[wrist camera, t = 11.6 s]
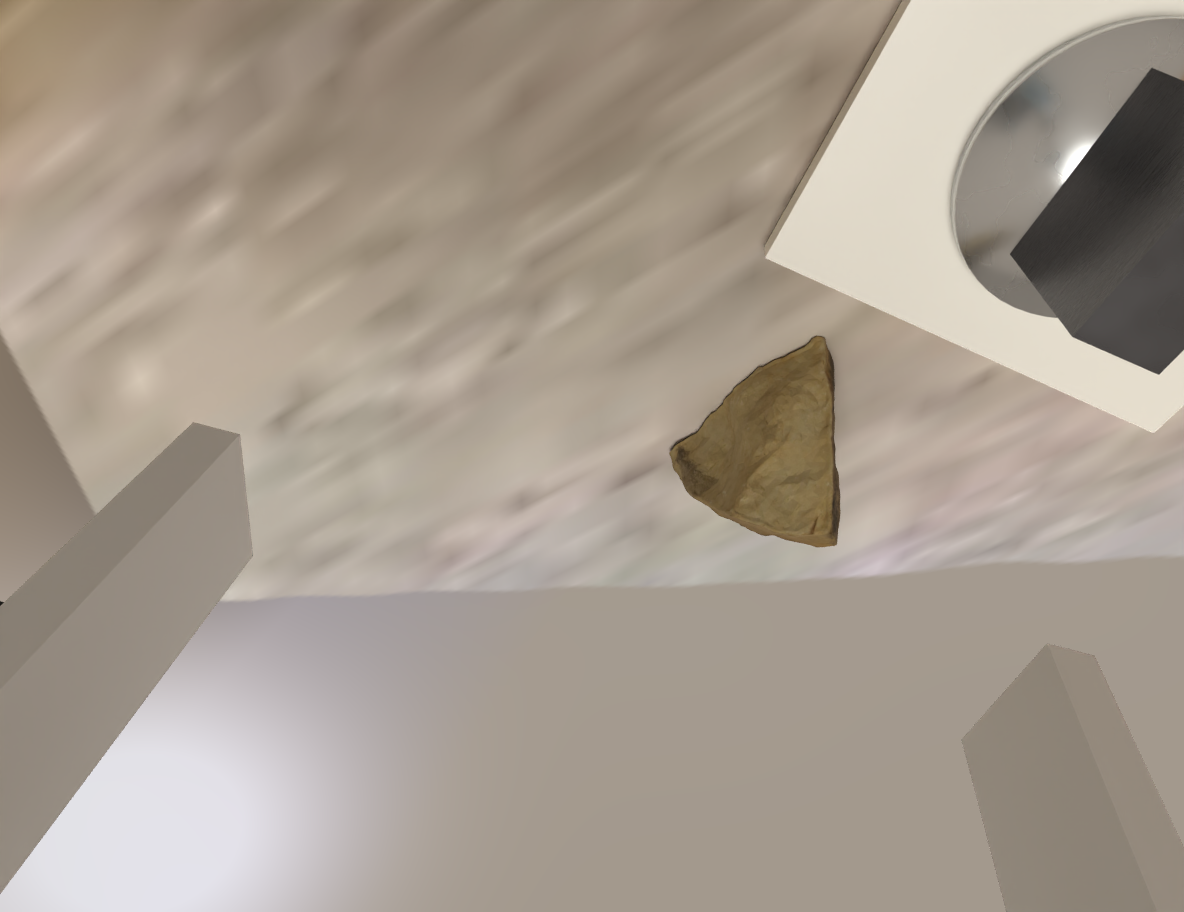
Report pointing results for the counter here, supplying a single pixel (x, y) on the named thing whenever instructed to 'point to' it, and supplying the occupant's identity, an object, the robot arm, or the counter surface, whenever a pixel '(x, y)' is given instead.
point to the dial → (1086, 190)
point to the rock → (772, 451)
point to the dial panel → (923, 193)
